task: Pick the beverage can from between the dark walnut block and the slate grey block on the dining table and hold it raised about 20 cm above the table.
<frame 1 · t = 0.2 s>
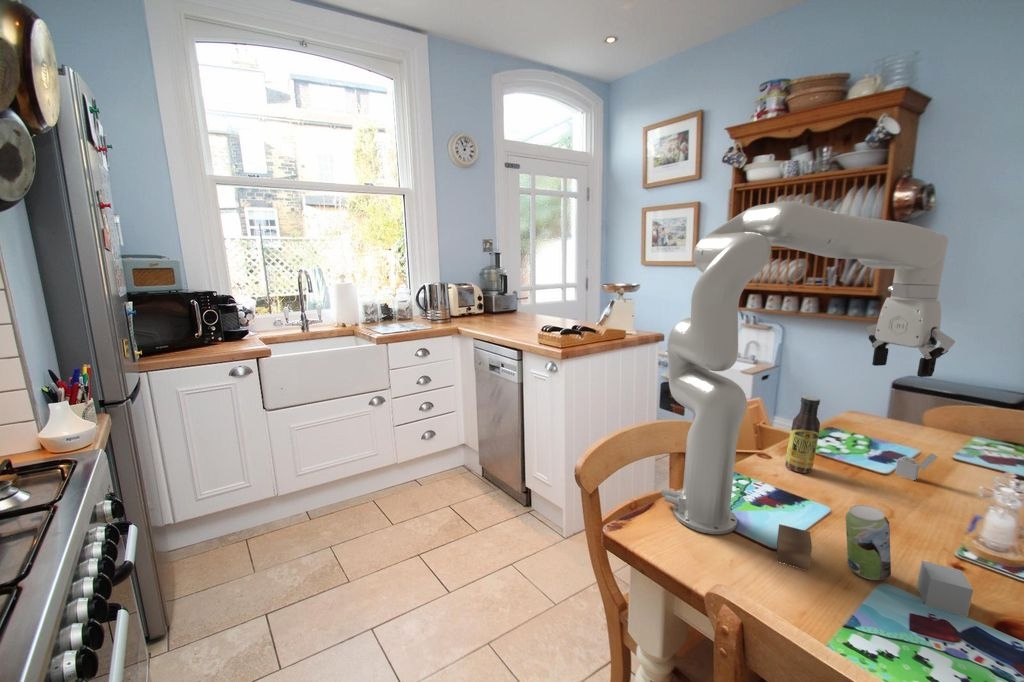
hand: (900, 370, 99), 31 cm above the table, tool pointing down, fingers open, 9 cm apart
sauce bottle: (798, 469, 120), on the table
beverage can: (862, 573, 81), on the table
walnut block: (791, 558, 84), on the table
slate grey block: (940, 601, 74), on the table
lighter: (913, 480, 114), on the table
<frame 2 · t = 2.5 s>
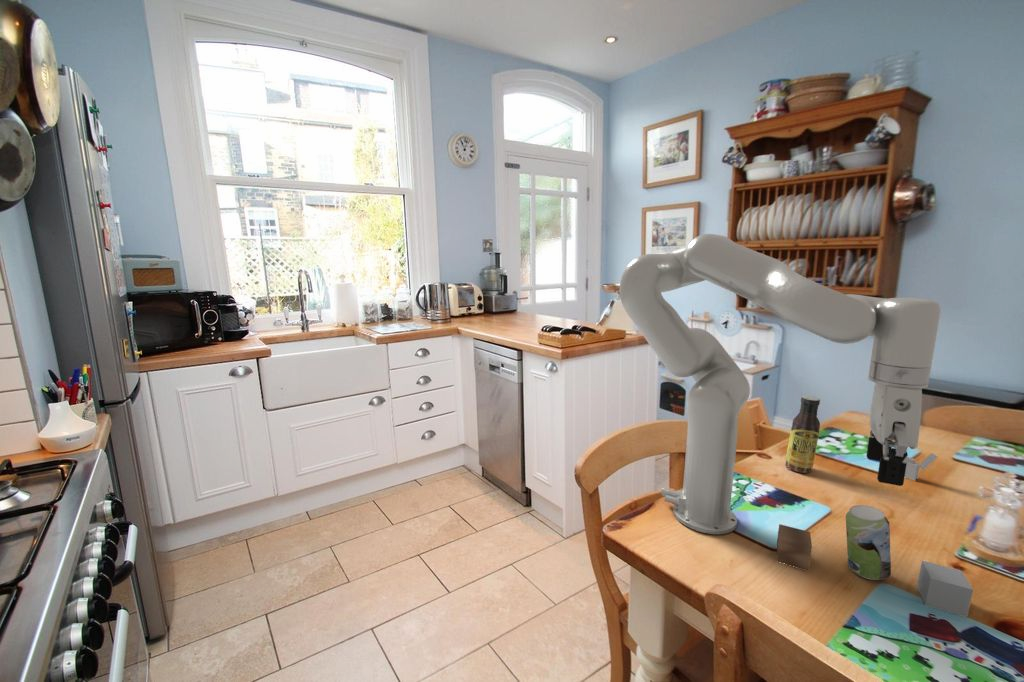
hand: (883, 471, 77), 20 cm above the table, tool pointing down, fingers open, 9 cm apart
nothing on the table moved.
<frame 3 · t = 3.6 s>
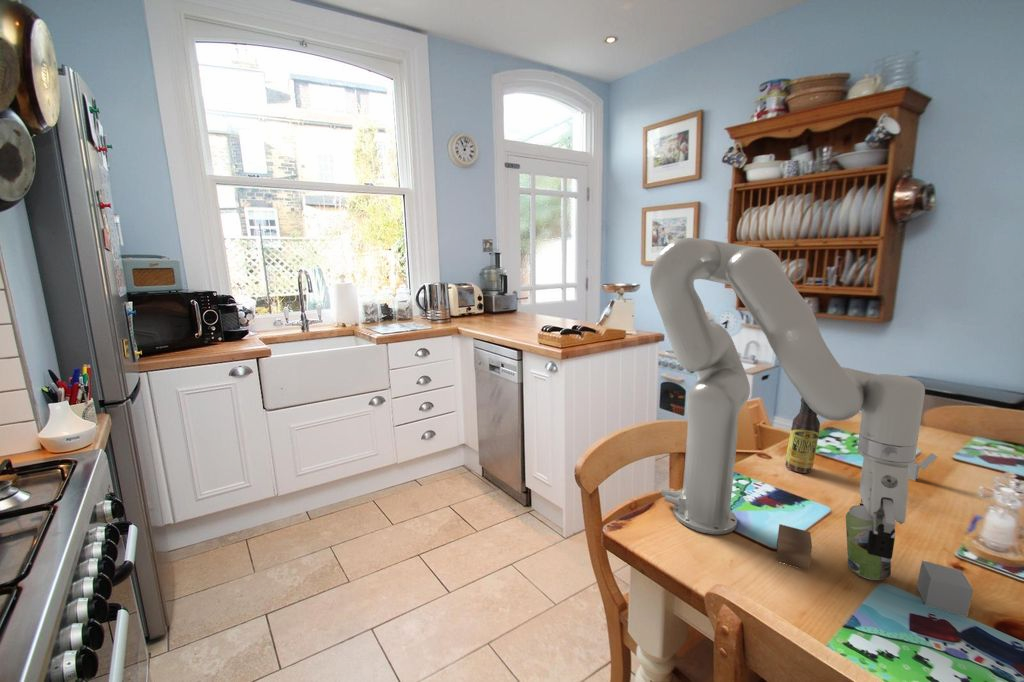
hand: (873, 539, 79), 7 cm above the table, tool pointing down, fingers open, 9 cm apart
nothing on the table moved.
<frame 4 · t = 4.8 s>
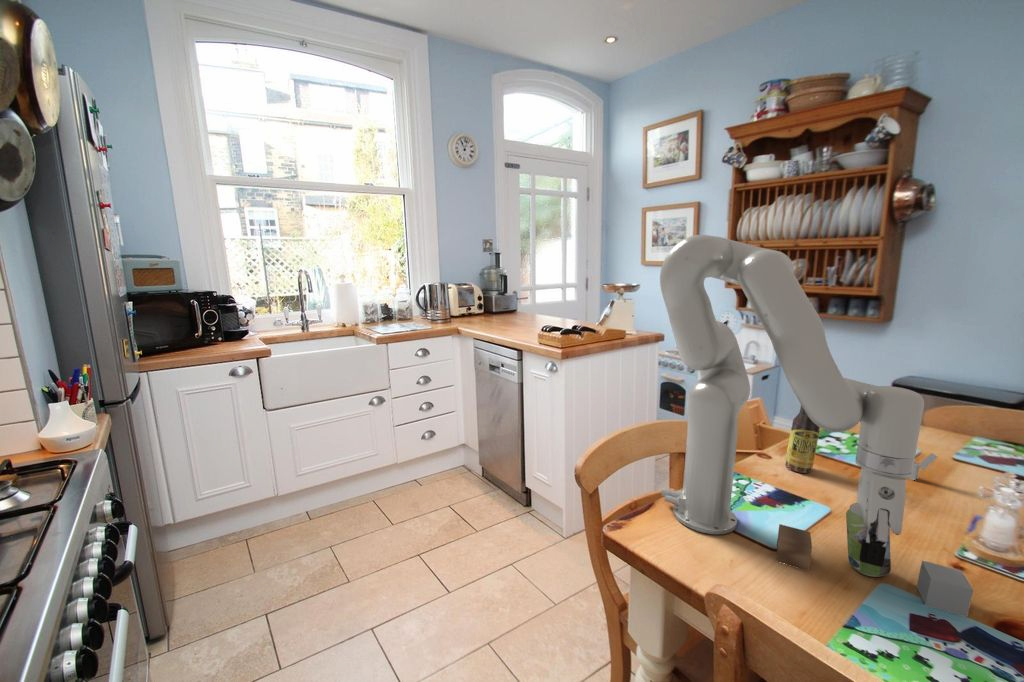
hand: (868, 554, 80), 4 cm above the table, tool pointing down, fingers closed on beverage can, 4 cm apart
beverage can: (863, 570, 82), on the table, touching gripper
everything else where it was.
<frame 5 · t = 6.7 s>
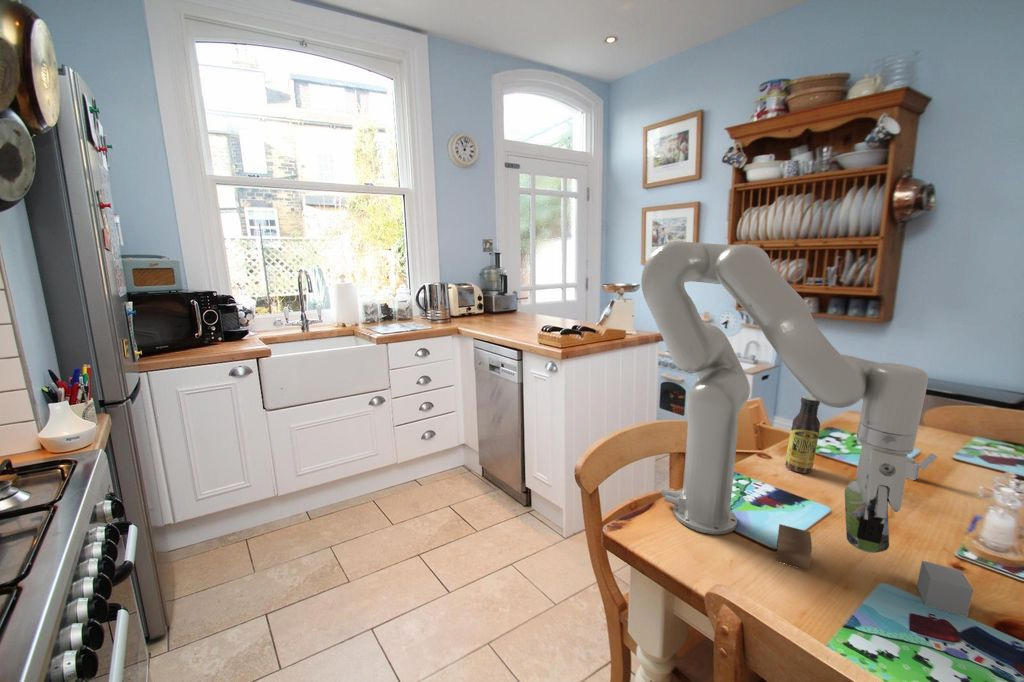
hand: (866, 532, 80), 8 cm above the table, tool pointing down, fingers closed on beverage can, 3 cm apart
beverage can: (861, 546, 82), point 4 cm above the table, touching gripper
everything else where it was.
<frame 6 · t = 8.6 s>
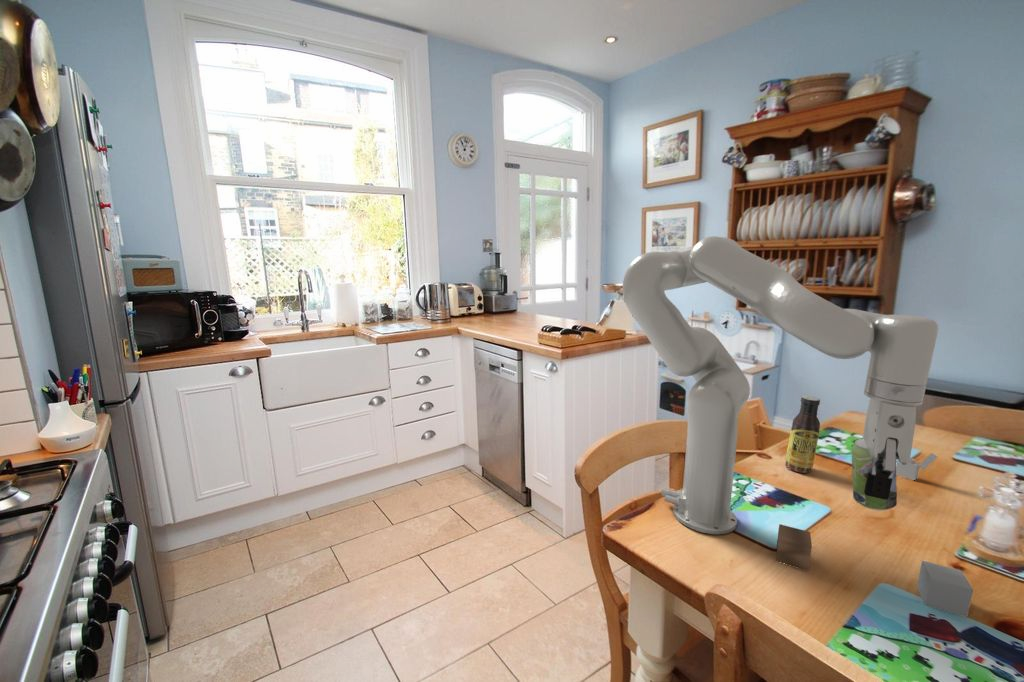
hand: (873, 490, 78), 16 cm above the table, tool pointing down, fingers closed on beverage can, 3 cm apart
beverage can: (868, 505, 80), point 12 cm above the table, touching gripper
everything else where it was.
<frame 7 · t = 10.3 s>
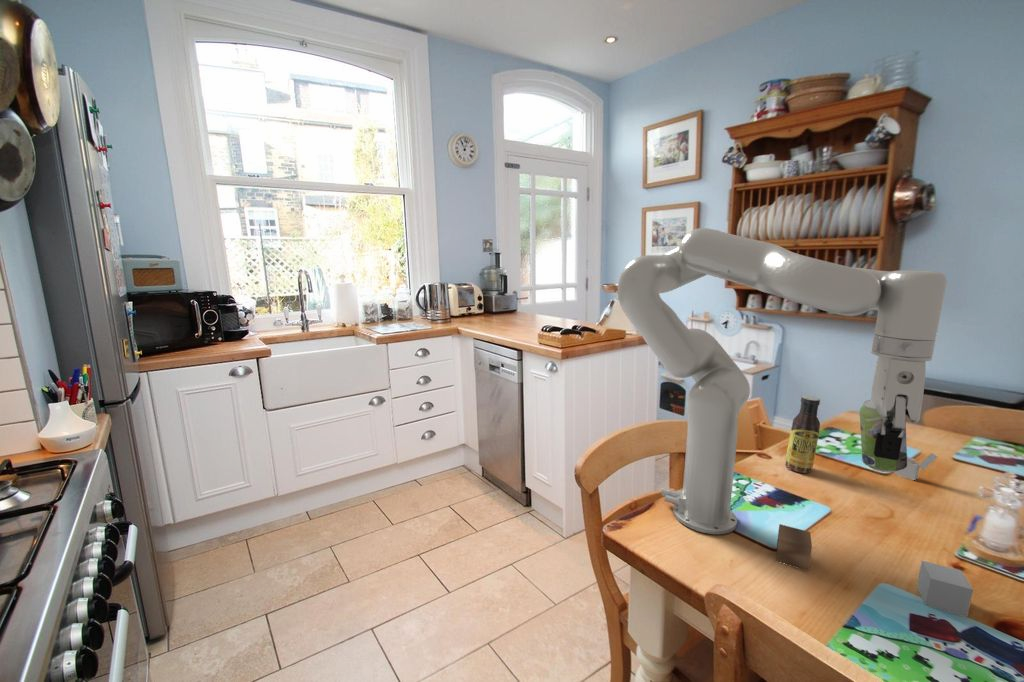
hand: (883, 452, 76), 23 cm above the table, tool pointing down, fingers closed on beverage can, 3 cm apart
beverage can: (877, 468, 79), point 19 cm above the table, touching gripper
everything else where it was.
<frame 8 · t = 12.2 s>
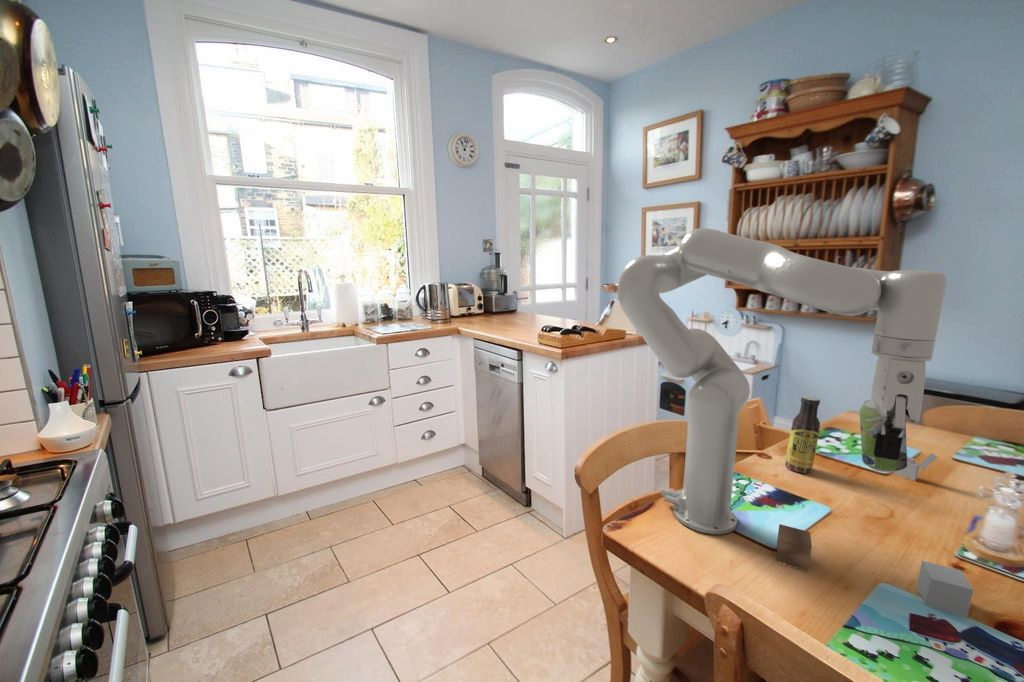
hand: (883, 452, 76), 23 cm above the table, tool pointing down, fingers closed on beverage can, 3 cm apart
beverage can: (877, 468, 79), point 19 cm above the table, touching gripper
everything else where it was.
at the end: the gripper is holding beverage can; beverage can point 19.3 cm above the table; slate grey block moved 0.1 cm from its start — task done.
